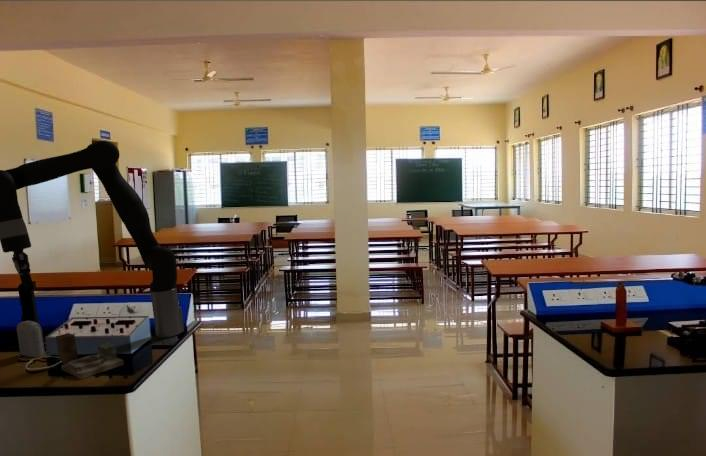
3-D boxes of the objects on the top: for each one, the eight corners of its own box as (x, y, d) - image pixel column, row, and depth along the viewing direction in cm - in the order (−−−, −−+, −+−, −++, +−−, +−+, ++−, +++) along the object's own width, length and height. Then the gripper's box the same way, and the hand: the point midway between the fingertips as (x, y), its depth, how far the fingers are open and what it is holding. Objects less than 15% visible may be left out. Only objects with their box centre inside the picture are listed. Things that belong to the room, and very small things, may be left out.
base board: (103, 356, 171) (101, 341, 171) (123, 364, 161) (121, 347, 161) (61, 369, 161) (59, 353, 161) (80, 379, 152) (78, 361, 151)
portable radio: (26, 337, 205) (17, 276, 203) (43, 334, 208) (34, 274, 205) (23, 342, 198) (13, 279, 196) (41, 339, 201) (31, 277, 198)
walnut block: (72, 358, 172) (68, 332, 171) (78, 361, 169) (74, 335, 168) (59, 362, 169) (55, 336, 168) (65, 365, 166) (61, 338, 165)
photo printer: (47, 354, 180) (42, 320, 179) (34, 358, 176) (29, 323, 175) (31, 351, 185) (26, 318, 184) (18, 355, 181) (13, 321, 180)
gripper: (29, 231, 153) (44, 283, 155) (25, 232, 164) (39, 281, 166) (0, 237, 149) (15, 290, 150) (-2, 238, 160) (12, 287, 162)
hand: (27, 285), depth 158 cm, fingers open, 8 cm apart
